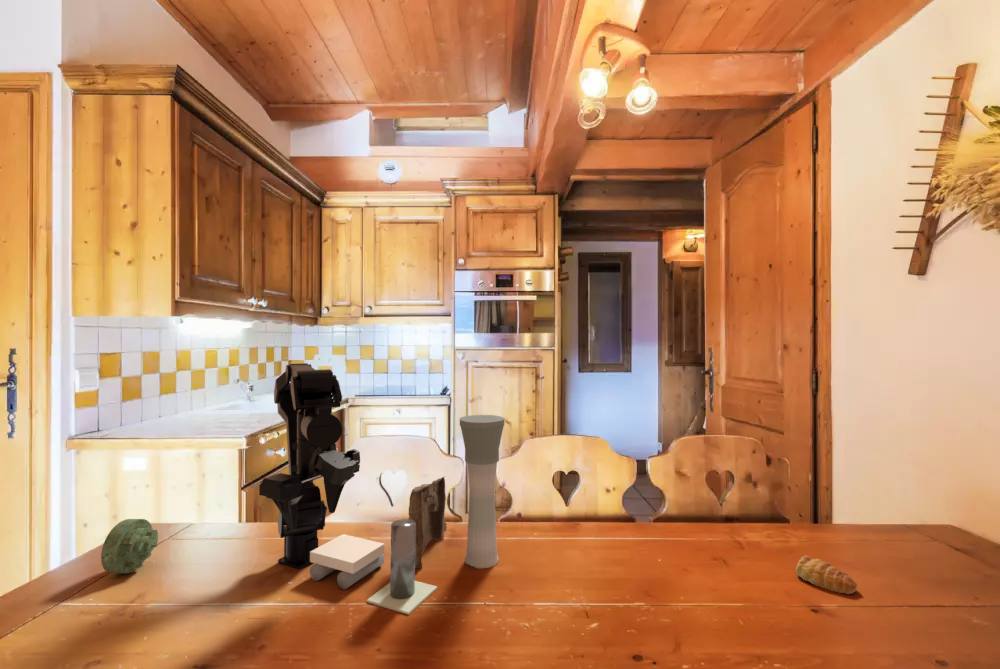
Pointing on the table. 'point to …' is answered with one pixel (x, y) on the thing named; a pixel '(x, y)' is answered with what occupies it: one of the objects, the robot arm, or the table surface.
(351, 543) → the slab on rollers
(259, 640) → the table surface
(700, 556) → the table surface
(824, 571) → the pastry
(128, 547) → the decorative artifact
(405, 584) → the silver metal cylinder
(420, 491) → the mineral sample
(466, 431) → the container
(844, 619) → the table surface
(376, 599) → the mat
